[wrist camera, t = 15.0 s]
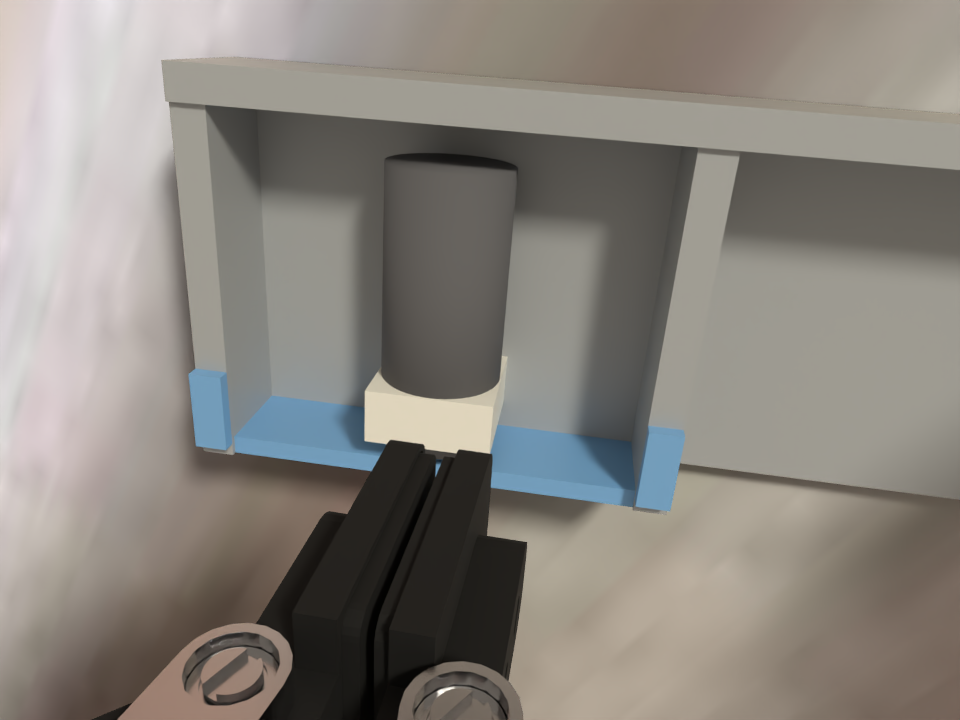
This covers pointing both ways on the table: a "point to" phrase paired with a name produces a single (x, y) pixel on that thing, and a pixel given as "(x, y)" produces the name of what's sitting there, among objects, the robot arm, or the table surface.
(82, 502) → the table surface
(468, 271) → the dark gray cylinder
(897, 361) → the divided grey tray
